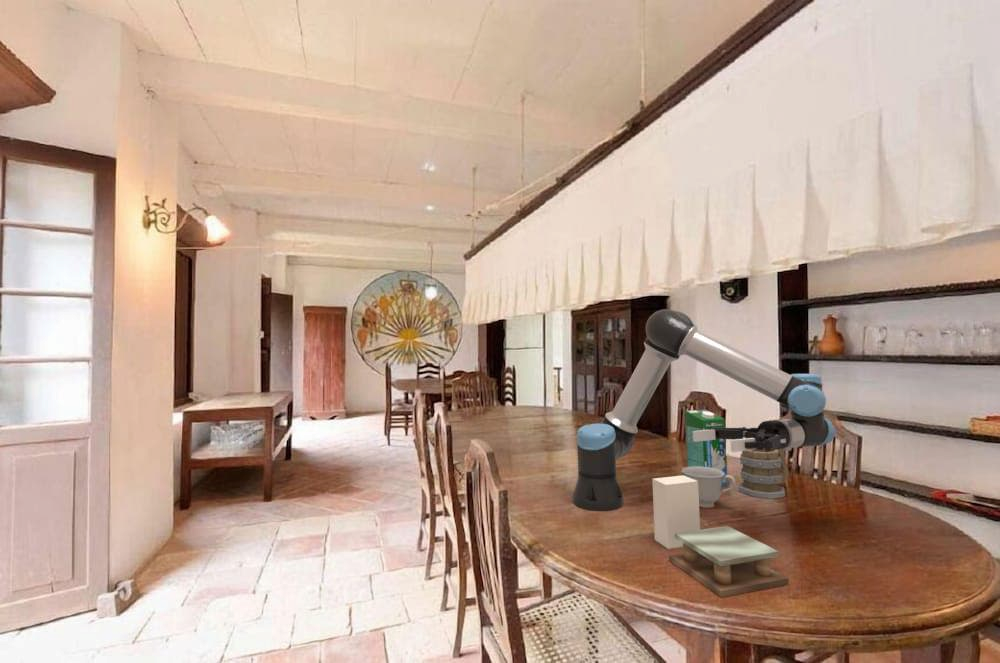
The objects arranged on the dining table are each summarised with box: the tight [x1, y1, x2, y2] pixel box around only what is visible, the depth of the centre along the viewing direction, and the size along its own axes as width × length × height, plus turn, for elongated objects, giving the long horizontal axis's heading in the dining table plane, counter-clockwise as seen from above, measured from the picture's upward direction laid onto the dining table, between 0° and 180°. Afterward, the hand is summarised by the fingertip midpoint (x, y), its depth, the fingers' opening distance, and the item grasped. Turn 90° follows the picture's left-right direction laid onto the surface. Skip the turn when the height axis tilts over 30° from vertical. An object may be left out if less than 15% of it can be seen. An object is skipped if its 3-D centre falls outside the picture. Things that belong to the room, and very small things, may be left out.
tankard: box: [738, 448, 793, 500], centre depth 149 cm, size 20×13×15 cm, turn 105°
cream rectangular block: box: [652, 474, 701, 550], centre depth 112 cm, size 6×9×15 cm, turn 105°
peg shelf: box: [668, 525, 790, 598], centre depth 96 cm, size 16×16×6 cm
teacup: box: [680, 466, 736, 509], centre depth 137 cm, size 12×15×10 cm
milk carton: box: [684, 409, 728, 487], centre depth 159 cm, size 9×9×25 cm
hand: (711, 440), depth 115 cm, fingers open, 13 cm apart
